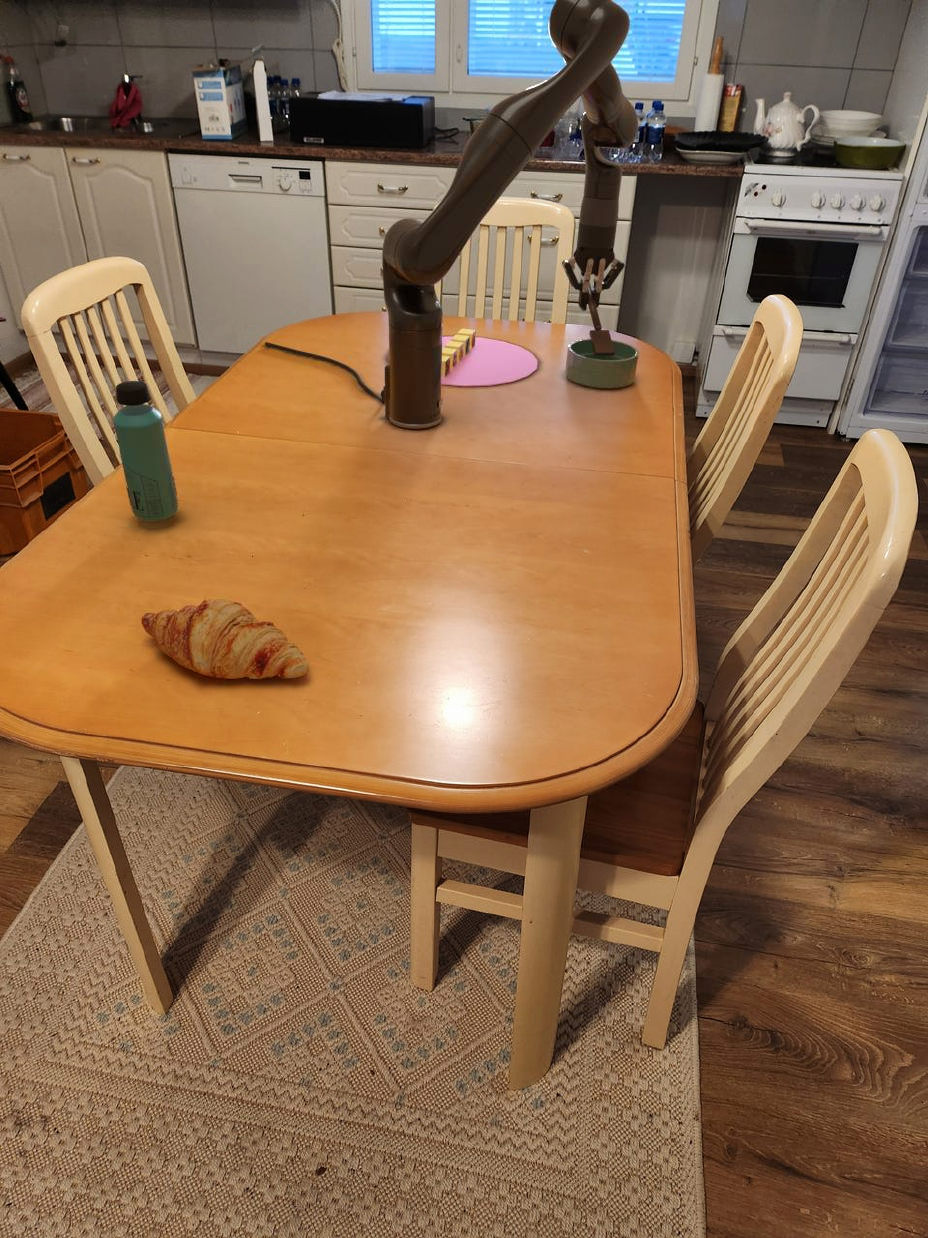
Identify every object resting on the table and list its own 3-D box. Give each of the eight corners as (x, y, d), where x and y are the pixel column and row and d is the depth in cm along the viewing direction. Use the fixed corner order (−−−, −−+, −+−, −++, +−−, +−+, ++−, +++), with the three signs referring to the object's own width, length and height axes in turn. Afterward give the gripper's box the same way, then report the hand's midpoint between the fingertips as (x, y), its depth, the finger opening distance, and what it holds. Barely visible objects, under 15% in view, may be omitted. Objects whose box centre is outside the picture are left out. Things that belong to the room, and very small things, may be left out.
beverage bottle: (190, 514, 125) (168, 379, 114) (162, 535, 120) (137, 396, 109) (151, 506, 127) (126, 372, 115) (123, 526, 122) (93, 388, 110)
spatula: (614, 356, 175) (622, 301, 169) (595, 356, 175) (602, 301, 168) (588, 330, 189) (594, 278, 183) (570, 330, 189) (576, 278, 183)
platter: (365, 374, 176) (365, 357, 174) (416, 330, 201) (416, 315, 199) (519, 395, 169) (520, 378, 167) (551, 346, 195) (553, 331, 193)
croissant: (322, 688, 100) (335, 621, 98) (282, 705, 90) (295, 630, 89) (163, 644, 104) (173, 580, 103) (108, 655, 95) (119, 584, 94)
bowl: (552, 379, 177) (555, 350, 174) (585, 362, 187) (588, 334, 184) (615, 396, 171) (619, 366, 167) (645, 377, 181) (650, 348, 177)
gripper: (624, 217, 177) (612, 304, 187) (560, 216, 175) (551, 305, 185) (637, 224, 171) (624, 314, 181) (570, 224, 169) (561, 315, 179)
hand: (587, 309), depth 183 cm, fingers closed on spatula, 1 cm apart
